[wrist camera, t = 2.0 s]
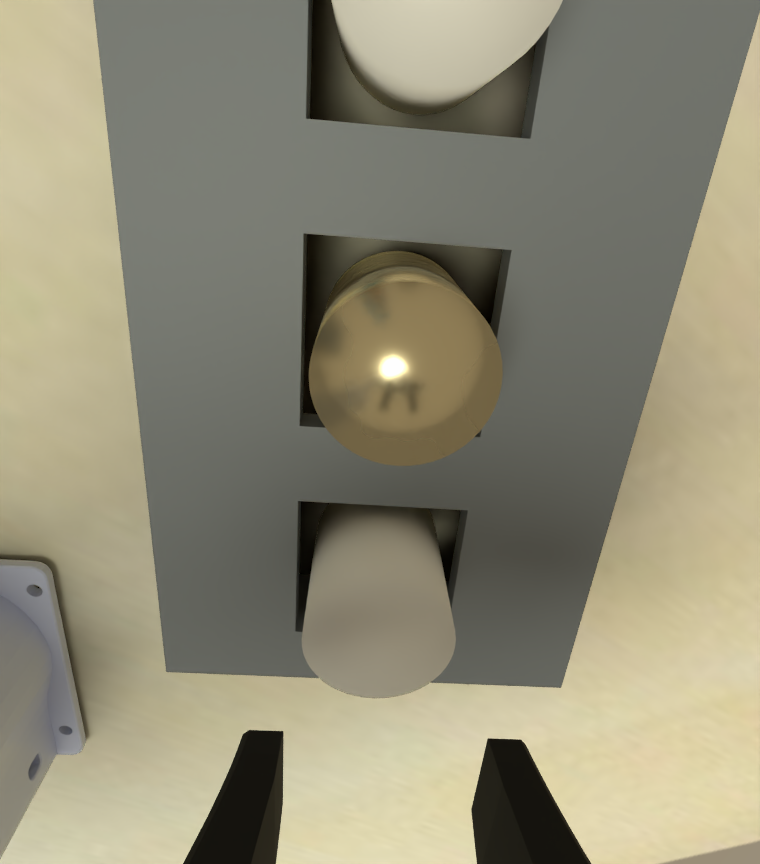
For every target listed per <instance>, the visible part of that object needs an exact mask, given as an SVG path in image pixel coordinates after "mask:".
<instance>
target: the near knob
mask: <svg viewBox="0 0 760 864" xmlns="http://www.w3.org/2000/svg"><path fill="white" fill-rule="evenodd" d="M562 1H563V0H332V5H333V10H334V15H335V20H336V25H337V30H338V34H339V39H340V43H341V47H342V50H343V53H344V55H345V58H346V61H347V63H348V65H349V67H350V69H351V71H352V72H353V74H354V75H355V77H356V78H357V80H358V81H359V83H360V84H361V85H362V86H363V87H364V89H365V90H366V91H367V92H368V93H370V94H371V95H372V96H373V97H374V98H375V99H377V100H378V101H380V102H381V103H382V104H384V105H386V106H388V107H390V108H392V109H394V110H397V111H400V112H403V113H409V114H419V115H426V114H433V113H438V112H441V111H445V110H448V109H450V108H452V107H454V106H456V105H458V104H460V103H461V102H463V101H464V100H466V99H467V98H469V97H470V96H471V95H473V94H474V93H475V92H476V91H478V90H479V89H480V88H482V87H483V86H484V85H486V84H487V83H488V82H490V81H491V80H492V79H494V78H495V77H496V76H497V75H499V74H500V73H501V72H503V71H504V70H505V69H507V68H508V67H509V66H511V65H512V64H513V63H514V62H515V61H517V60H518V59H519V58H520V57H522V56H523V55H524V54H525V53H526V52H527V51H528V50H529V49H530V48H531V47H532V46H533V45H534V44H535V43H536V42H537V41H538V39H539V38H540V37H541V35H542V34H543V33H544V31H545V30H546V29H547V27H548V26H549V25H550V23H551V21H552V20H553V18H554V16H555V15H556V13H557V11H558V9H559V8H560V5H561V3H562Z"/></svg>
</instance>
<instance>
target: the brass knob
mask: <svg viewBox="0 0 760 864" xmlns="http://www.w3.org/2000/svg"><path fill="white" fill-rule="evenodd" d="M502 376H503V370H502V358H501V352H500V348H499V345H498V342H497V339H496V337H495V335H494V333H493V331H492V329H491V327H490V326H489V324H488V323H487V321H486V320H485V318H484V317H483V316H482V314H481V313H480V312H479V311H478V309H477V308H476V307H475V306H474V305H473V303H472V302H471V301H470V300H469V298H468V297H467V296H466V295H465V294H464V292H463V291H462V290H461V289H460V287H459V286H458V285H457V284H456V283H455V281H454V280H453V279H452V278H451V276H450V275H449V274H448V273H447V272H446V271H445V270H444V269H443V268H442V267H440V266H439V265H438V264H437V263H435V262H433V261H432V260H430V259H428V258H426V257H424V256H422V255H418V254H415V253H412V252H405V251H388V252H381V253H378V254H374V255H371V256H369V257H367V258H364V259H362V260H361V261H359V262H357V263H356V264H354V265H353V266H352V267H351V268H349V269H348V270H347V271H346V272H345V273H344V274H343V275H342V276H341V278H340V279H339V280H338V282H337V283H336V285H335V286H334V288H333V290H332V292H331V294H330V297H329V300H328V302H327V306H326V309H325V312H324V315H323V318H322V322H321V325H320V328H319V331H318V334H317V338H316V341H315V344H314V347H313V351H312V355H311V359H310V365H309V388H310V393H311V398H312V401H313V404H314V407H315V410H316V412H317V414H318V416H319V418H320V420H321V422H322V423H323V425H324V426H325V428H326V429H327V430H328V431H329V433H330V434H331V435H332V436H333V437H334V438H335V439H336V440H337V441H338V442H339V443H340V444H342V445H343V446H344V447H346V448H347V449H348V450H350V451H351V452H353V453H355V454H357V455H359V456H361V457H363V458H365V459H368V460H371V461H373V462H377V463H381V464H385V465H394V466H412V465H421V464H425V463H429V462H433V461H436V460H439V459H442V458H444V457H446V456H448V455H450V454H452V453H454V452H456V451H457V450H459V449H460V448H462V447H463V446H465V445H466V444H467V443H468V442H469V441H471V440H472V439H473V438H474V437H475V436H476V435H477V434H478V433H479V432H480V431H481V429H482V428H483V427H484V425H485V424H486V423H487V421H488V420H489V418H490V416H491V414H492V413H493V411H494V409H495V406H496V404H497V401H498V398H499V394H500V390H501V385H502Z"/></svg>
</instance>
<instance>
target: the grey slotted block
mask: <svg viewBox="0 0 760 864" xmlns="http://www.w3.org/2000/svg"><path fill="white" fill-rule="evenodd" d="M93 1H94V10H95V20H96V29H97V38H98V47H99V56H100V66H101V75H102V84H103V93H104V102H105V112H106V121H107V130H108V139H109V149H110V158H111V167H112V176H113V185H114V195H115V204H116V213H117V222H118V231H119V241H120V250H121V259H122V268H123V277H124V287H125V296H126V305H127V314H128V323H129V333H130V342H131V351H132V360H133V369H134V379H135V388H136V397H137V406H138V415H139V425H140V434H141V443H142V452H143V462H144V471H145V480H146V489H147V498H148V508H149V517H150V526H151V535H152V544H153V554H154V563H155V572H156V581H157V590H158V600H159V609H160V618H161V627H162V636H163V646H164V655H165V664H166V672H182V673H207V674H232V675H257V676H282V677H307V678H319V677H318V676H317V675H316V674H315V673H314V672H313V671H312V669H311V668H310V667H309V665H308V663H307V661H306V659H305V657H304V654H303V650H302V632H303V625H304V618H305V611H306V604H307V597H308V590H309V583H310V575H311V574H299V565H300V522H301V501H308V502H326V503H344V504H362V505H380V506H397V507H415V508H433V509H451V510H461V511H460V518H459V524H458V530H457V536H456V542H455V549H454V555H453V561H452V567H451V573H450V579H449V581H446V586H447V591H448V597H449V602H450V607H451V612H452V617H453V623H454V628H455V635H456V643H455V649H454V653H453V656H452V658H451V660H450V662H449V663H448V665H447V667H446V668H445V669H444V670H443V672H442V673H441V674H440V675H439V676H438V677H437V678H435V679H434V680H433V681H431V682H432V683H457V684H482V685H507V686H532V687H557V688H561V686H562V682H563V679H564V676H565V672H566V669H567V665H568V662H569V659H570V655H571V652H572V648H573V645H574V642H575V638H576V635H577V631H578V628H579V625H580V621H581V618H582V614H583V611H584V608H585V604H586V601H587V597H588V594H589V591H590V587H591V584H592V580H593V577H594V574H595V570H596V567H597V563H598V560H599V557H600V553H601V550H602V546H603V543H604V539H605V536H606V533H607V529H608V526H609V522H610V519H611V516H612V512H613V509H614V505H615V502H616V499H617V495H618V492H619V488H620V485H621V482H622V478H623V475H624V471H625V468H626V465H627V461H628V458H629V454H630V451H631V448H632V444H633V441H634V437H635V434H636V431H637V427H638V424H639V420H640V417H641V413H642V410H643V407H644V403H645V400H646V396H647V393H648V390H649V386H650V383H651V379H652V376H653V373H654V369H655V366H656V362H657V359H658V356H659V352H660V349H661V345H662V342H663V339H664V335H665V332H666V328H667V325H668V322H669V318H670V315H671V311H672V308H673V305H674V301H675V298H676V294H677V291H678V288H679V284H680V281H681V277H682V274H683V270H684V267H685V264H686V260H687V257H688V253H689V250H690V247H691V243H692V240H693V236H694V233H695V230H696V226H697V223H698V219H699V216H700V213H701V209H702V206H703V202H704V199H705V196H706V192H707V189H708V185H709V182H710V179H711V175H712V172H713V168H714V165H715V162H716V158H717V155H718V151H719V148H720V145H721V141H722V138H723V134H724V131H725V127H726V124H727V121H728V117H729V114H730V110H731V107H732V104H733V100H734V97H735V93H736V90H737V87H738V83H739V80H740V76H741V73H742V70H743V66H744V63H745V59H746V56H747V53H748V49H749V46H750V42H751V39H752V36H753V32H754V29H755V25H756V22H757V19H758V15H759V12H760V0H563V1H562V3H561V5H560V8H559V9H558V11H557V13H556V15H555V16H554V18H553V20H552V21H551V23H550V25H549V26H548V27H547V29H546V30H545V31H544V33H543V34H542V35H541V37H540V38H539V39H538V41H537V42H536V47H535V54H534V60H533V66H532V72H531V78H530V85H529V91H528V97H527V103H526V109H525V116H524V122H523V128H522V134H521V138H515V137H504V136H493V135H482V134H471V133H460V132H449V131H438V130H427V129H415V128H404V127H393V126H382V125H371V124H360V123H349V122H338V121H327V120H316V119H310V88H311V45H312V2H313V0H93ZM307 234H317V235H329V236H342V237H354V238H367V239H379V240H392V241H404V242H417V243H429V244H442V245H454V246H467V247H479V248H492V249H503V252H502V258H501V264H500V270H499V276H498V283H497V289H496V295H495V301H494V307H493V313H492V320H491V326H490V327H491V329H492V331H493V333H494V335H495V337H496V339H497V342H498V345H499V348H500V352H501V358H502V370H503V376H502V385H501V390H500V394H499V398H498V401H497V404H496V406H495V409H494V411H493V413H492V414H491V416H490V418H489V420H488V421H487V423H486V424H485V425H484V427H483V428H482V429H481V431H480V432H479V433H478V434H477V435H476V436H475V437H474V438H473V439H472V440H471V441H469V442H468V443H467V444H466V445H465V446H463V447H462V448H460V449H459V450H457V451H456V452H454V453H452V454H450V455H448V456H446V457H444V458H442V459H439V460H436V461H433V462H429V463H425V464H421V465H412V466H394V465H385V464H381V463H377V462H373V461H371V460H368V459H365V458H363V457H361V456H359V455H357V454H355V453H353V452H351V451H350V450H348V449H347V448H346V447H344V446H343V445H342V444H340V443H339V442H338V441H337V440H336V439H335V438H334V437H333V436H332V435H331V434H330V433H329V431H328V430H327V429H326V428H325V426H324V425H323V423H322V422H321V420H320V418H319V416H318V414H306V413H303V392H304V349H305V305H306V262H307Z"/></svg>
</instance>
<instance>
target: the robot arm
mask: <svg viewBox="0 0 760 864" xmlns="http://www.w3.org/2000/svg"><path fill="white" fill-rule="evenodd" d="M34 585H37V586H39V587H40V588H41V589H39V588H37V587H35V586H34ZM85 743H86V737H85V732H84V727H83V722H82V717H81V713H80V708H79V703H78V698H77V693H76V688H75V683H74V678H73V673H72V668H71V663H70V658H69V654H68V649H67V644H66V639H65V634H64V629H63V624H62V619H61V614H60V609H59V604H58V599H57V595H56V590H55V585H54V580H53V575H52V572H51V570H50V568H49V567H48V566H47V565H46V564H44V563H42V562H38V561H27V560H7V559H0V859H1V857H2V855H3V853H4V851H5V849H6V847H7V846H8V844H9V842H10V840H11V838H12V836H13V834H14V833H15V831H16V829H17V827H18V825H19V823H20V821H21V819H22V818H23V816H24V814H25V812H26V810H27V808H28V806H29V805H30V803H31V801H32V799H33V797H34V795H35V793H36V792H37V790H38V788H39V786H40V784H41V782H42V780H43V778H44V777H45V775H46V773H47V771H48V769H49V767H50V765H51V764H52V762H53V760H54V758H55V756H56V754H62V755H74V754H78V753H80V752H81V751H82V750H83V748H84V746H85ZM282 805H283V731H257V730H249V731H247V732H246V733H244V734H243V736H242V739H241V741H240V744H239V747H238V750H237V752H236V755H235V757H234V760H233V762H232V765H231V767H230V769H229V772H228V774H227V776H226V779H225V781H224V783H223V785H222V788H221V790H220V792H219V794H218V796H217V798H216V800H215V802H214V804H213V807H212V809H211V811H210V813H209V815H208V817H207V819H206V821H205V823H204V825H203V827H202V829H201V830H200V832H199V834H198V836H197V838H196V840H195V842H194V844H193V846H192V848H191V850H190V852H189V854H188V855H187V857H186V859H185V861H184V863H183V864H276V857H277V849H278V840H279V831H280V823H281V814H282ZM471 810H472V819H473V829H474V839H475V849H476V857H477V864H591V862H590V861H589V859H588V858H587V856H586V854H585V853H584V851H583V849H582V848H581V846H580V844H579V843H578V841H577V839H576V837H575V836H574V834H573V832H572V831H571V829H570V827H569V825H568V824H567V822H566V820H565V818H564V816H563V815H562V813H561V811H560V809H559V807H558V806H557V804H556V802H555V800H554V798H553V797H552V795H551V793H550V791H549V789H548V787H547V786H546V784H545V782H544V780H543V778H542V776H541V774H540V772H539V770H538V768H537V766H536V764H535V763H534V761H533V759H532V757H531V755H530V753H529V751H528V749H527V747H526V745H525V744H524V743H523V741H522V740H513V739H488V740H487V745H486V749H485V753H484V758H483V762H482V766H481V771H480V775H479V779H478V784H477V788H476V792H475V796H474V801H473V805H472V809H471Z"/></svg>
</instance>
